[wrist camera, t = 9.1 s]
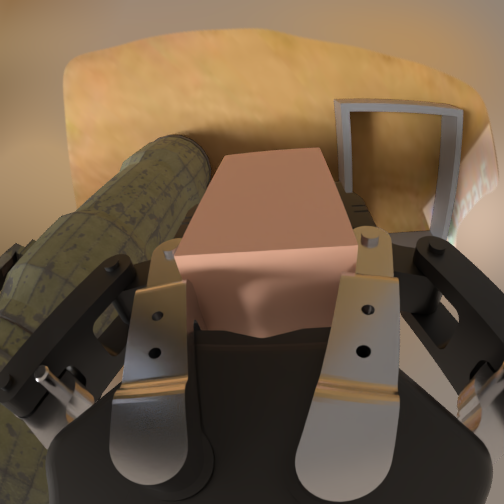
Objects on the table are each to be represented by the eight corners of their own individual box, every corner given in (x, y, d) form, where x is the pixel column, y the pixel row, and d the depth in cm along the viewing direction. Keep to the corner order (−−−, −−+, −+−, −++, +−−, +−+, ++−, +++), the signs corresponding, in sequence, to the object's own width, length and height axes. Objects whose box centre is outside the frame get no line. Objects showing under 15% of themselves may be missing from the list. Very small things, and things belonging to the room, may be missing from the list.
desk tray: (433, 235, 33) (443, 250, 31) (339, 242, 36) (343, 259, 33) (447, 104, 23) (463, 110, 20) (333, 99, 26) (340, 103, 23)
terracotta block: (319, 147, 11) (358, 245, 6) (321, 227, 14) (342, 353, 8) (224, 155, 12) (173, 256, 6) (239, 233, 14) (213, 356, 9)
